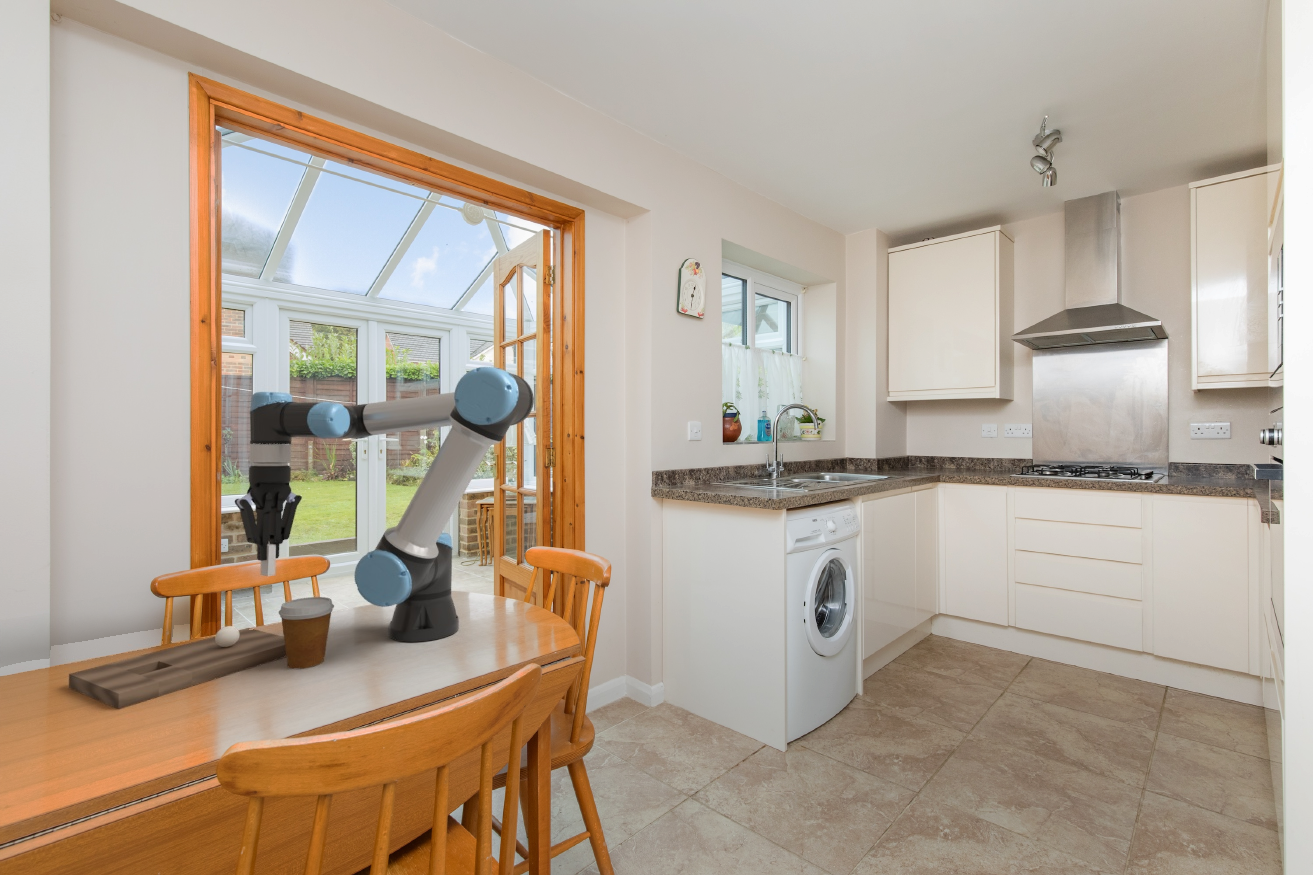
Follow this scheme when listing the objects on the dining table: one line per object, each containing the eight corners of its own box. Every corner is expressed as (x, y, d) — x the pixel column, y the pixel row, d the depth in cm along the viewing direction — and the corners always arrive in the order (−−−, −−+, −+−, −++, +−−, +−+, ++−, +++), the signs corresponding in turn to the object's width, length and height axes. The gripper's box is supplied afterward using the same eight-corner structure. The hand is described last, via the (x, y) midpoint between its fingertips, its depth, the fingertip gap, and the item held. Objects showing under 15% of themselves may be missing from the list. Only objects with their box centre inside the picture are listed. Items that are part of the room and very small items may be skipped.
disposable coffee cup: (308, 673, 113) (309, 610, 113) (265, 669, 115) (266, 607, 115) (344, 656, 123) (345, 597, 123) (304, 652, 124) (304, 595, 125)
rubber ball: (243, 645, 122) (244, 625, 122) (222, 651, 118) (222, 630, 118) (232, 641, 123) (232, 622, 123) (210, 647, 120) (211, 627, 120)
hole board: (298, 652, 125) (299, 640, 125) (118, 708, 98) (118, 693, 98) (248, 639, 133) (248, 627, 133) (68, 687, 106) (69, 673, 106)
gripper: (289, 463, 136) (287, 567, 135) (227, 464, 124) (224, 578, 124) (310, 464, 132) (308, 571, 132) (248, 465, 121) (245, 583, 120)
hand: (267, 574), depth 128 cm, fingers closed
